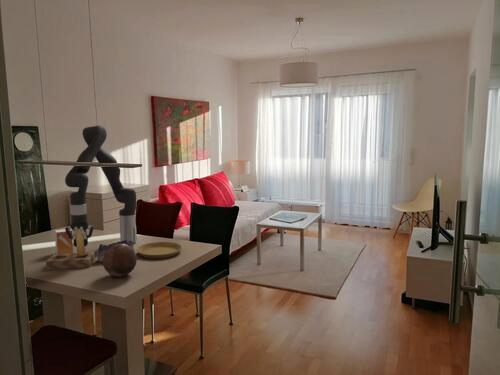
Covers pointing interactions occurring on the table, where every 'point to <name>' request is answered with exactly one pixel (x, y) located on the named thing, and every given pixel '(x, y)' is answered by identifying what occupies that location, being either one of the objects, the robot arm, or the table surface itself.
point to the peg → (80, 243)
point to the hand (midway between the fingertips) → (80, 246)
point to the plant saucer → (159, 249)
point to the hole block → (70, 261)
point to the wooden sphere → (119, 260)
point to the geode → (103, 248)
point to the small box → (63, 242)
